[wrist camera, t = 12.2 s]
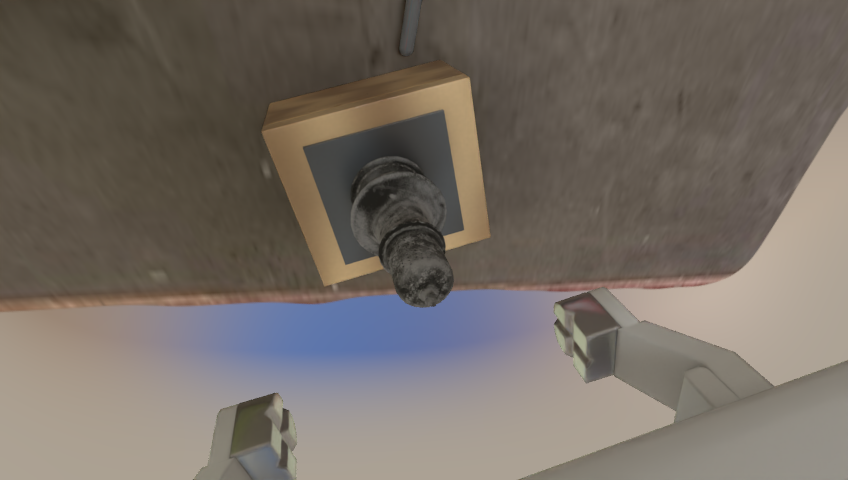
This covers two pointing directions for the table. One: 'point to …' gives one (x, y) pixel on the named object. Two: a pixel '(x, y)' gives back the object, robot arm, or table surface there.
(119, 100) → the table surface
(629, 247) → the table surface
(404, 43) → the walkie-talkie
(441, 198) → the chess piece
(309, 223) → the stand
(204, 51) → the table surface
